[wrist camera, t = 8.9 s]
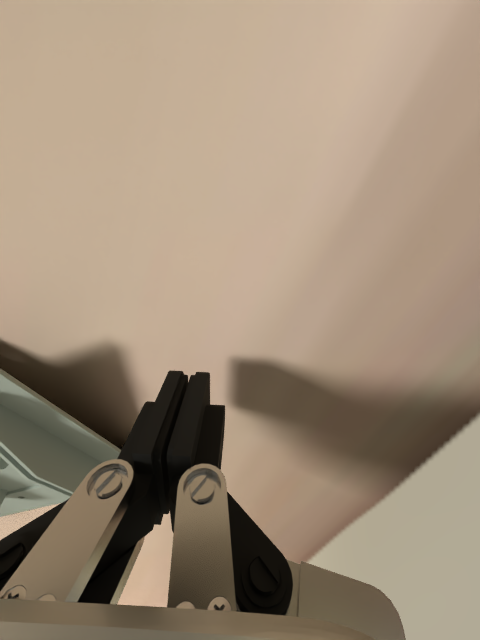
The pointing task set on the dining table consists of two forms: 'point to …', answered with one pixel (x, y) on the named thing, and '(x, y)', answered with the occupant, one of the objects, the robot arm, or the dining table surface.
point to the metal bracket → (42, 450)
